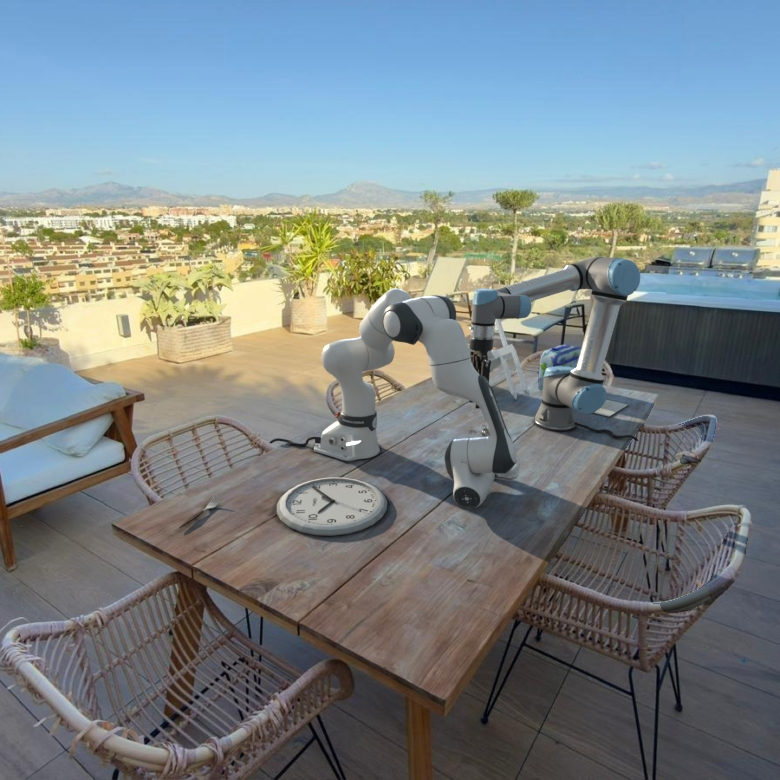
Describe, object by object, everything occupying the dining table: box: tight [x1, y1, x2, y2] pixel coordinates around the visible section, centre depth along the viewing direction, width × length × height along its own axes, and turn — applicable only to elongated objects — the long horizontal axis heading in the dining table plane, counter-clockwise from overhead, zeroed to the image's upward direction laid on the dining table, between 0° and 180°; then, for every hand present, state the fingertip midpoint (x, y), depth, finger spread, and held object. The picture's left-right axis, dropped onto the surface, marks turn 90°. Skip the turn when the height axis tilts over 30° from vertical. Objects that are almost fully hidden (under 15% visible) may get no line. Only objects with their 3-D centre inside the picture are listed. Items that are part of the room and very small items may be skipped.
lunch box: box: [537, 344, 582, 391], centre depth 246 cm, size 26×11×21 cm, turn 134°
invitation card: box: [593, 399, 629, 418], centre depth 226 cm, size 21×1×15 cm
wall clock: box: [276, 476, 388, 537], centre depth 142 cm, size 30×2×30 cm
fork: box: [178, 493, 223, 529], centre depth 137 cm, size 3×16×2 cm, turn 160°
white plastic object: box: [468, 319, 531, 400], centre depth 245 cm, size 37×45×31 cm
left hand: (489, 454), depth 162 cm, fingers closed on jar, 5 cm apart
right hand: (476, 404), depth 176 cm, fingers closed on lid, 5 cm apart
